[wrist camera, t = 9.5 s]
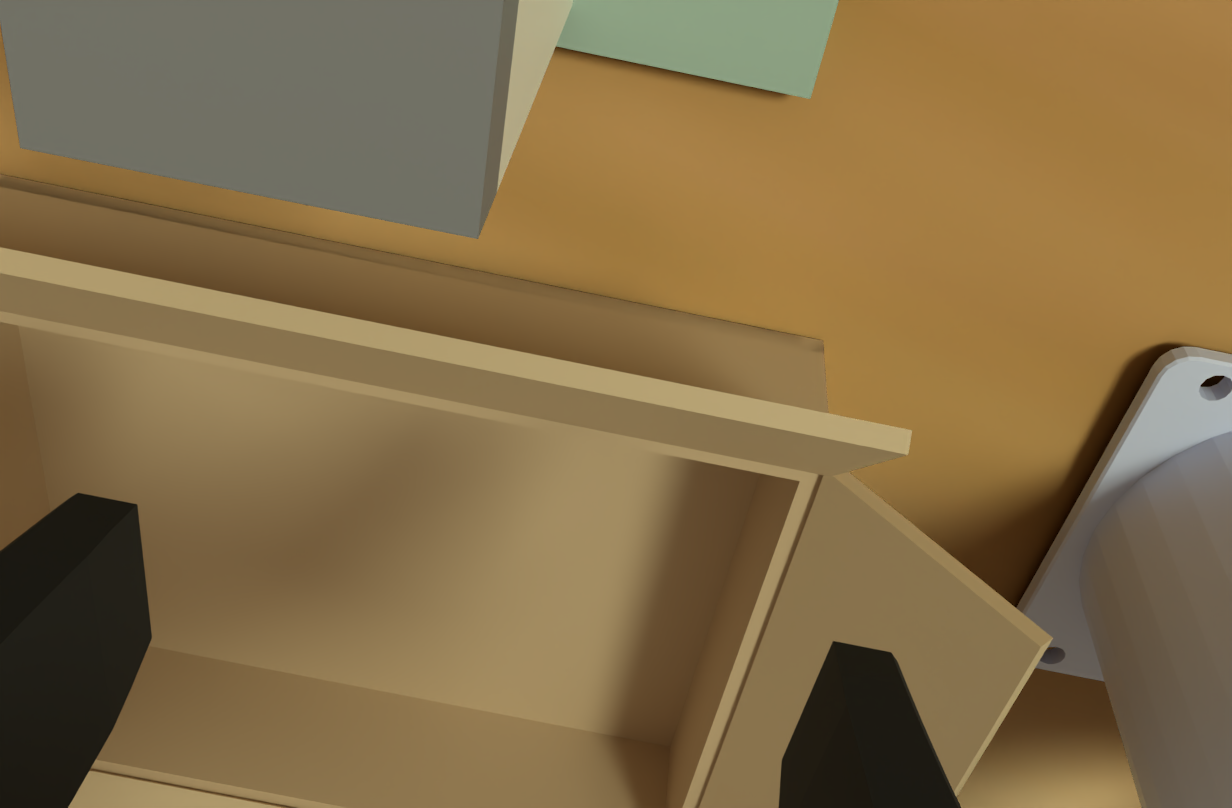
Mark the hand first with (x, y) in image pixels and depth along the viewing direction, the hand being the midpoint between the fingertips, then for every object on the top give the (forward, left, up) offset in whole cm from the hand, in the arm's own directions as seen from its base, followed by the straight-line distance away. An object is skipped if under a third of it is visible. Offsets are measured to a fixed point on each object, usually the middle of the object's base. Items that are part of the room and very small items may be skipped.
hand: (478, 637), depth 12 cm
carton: (+2, +7, -9) cm, 12 cm away
